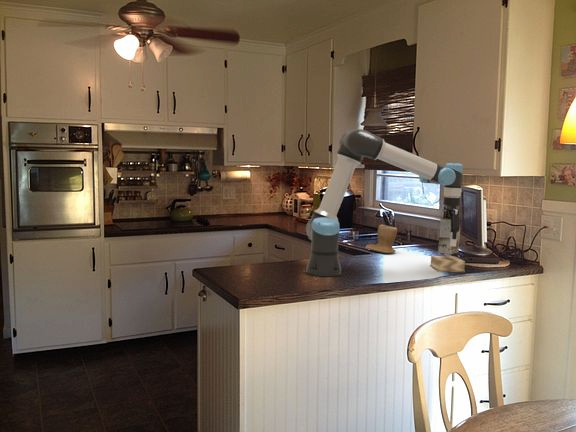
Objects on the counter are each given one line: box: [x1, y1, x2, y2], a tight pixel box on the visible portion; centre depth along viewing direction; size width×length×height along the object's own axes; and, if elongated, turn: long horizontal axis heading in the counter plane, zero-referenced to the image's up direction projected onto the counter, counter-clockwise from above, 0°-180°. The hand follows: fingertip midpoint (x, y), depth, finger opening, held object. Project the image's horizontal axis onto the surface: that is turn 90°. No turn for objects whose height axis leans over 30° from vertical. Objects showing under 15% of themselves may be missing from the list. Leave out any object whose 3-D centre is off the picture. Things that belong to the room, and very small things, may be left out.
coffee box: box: [437, 217, 462, 255], centre depth 257 cm, size 9×6×16 cm
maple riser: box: [429, 255, 466, 273], centre depth 259 cm, size 12×12×5 cm
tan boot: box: [365, 224, 398, 254], centre depth 298 cm, size 15×12×15 cm
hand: (448, 244), depth 258 cm, fingers closed on coffee box, 10 cm apart
